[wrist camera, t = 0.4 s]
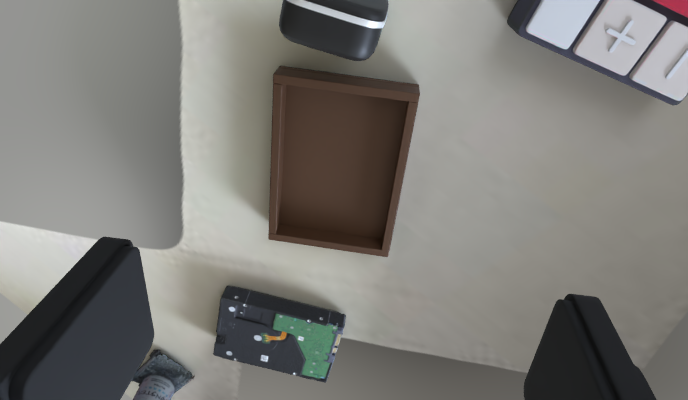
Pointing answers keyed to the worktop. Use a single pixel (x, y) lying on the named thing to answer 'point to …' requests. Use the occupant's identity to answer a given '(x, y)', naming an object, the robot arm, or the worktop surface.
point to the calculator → (615, 39)
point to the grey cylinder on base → (160, 378)
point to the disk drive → (277, 333)
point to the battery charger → (335, 25)
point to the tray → (338, 158)
